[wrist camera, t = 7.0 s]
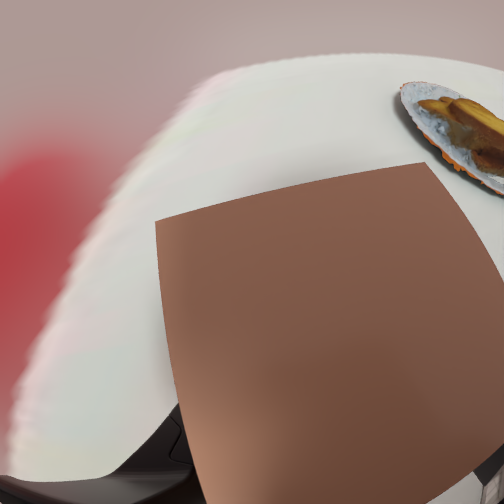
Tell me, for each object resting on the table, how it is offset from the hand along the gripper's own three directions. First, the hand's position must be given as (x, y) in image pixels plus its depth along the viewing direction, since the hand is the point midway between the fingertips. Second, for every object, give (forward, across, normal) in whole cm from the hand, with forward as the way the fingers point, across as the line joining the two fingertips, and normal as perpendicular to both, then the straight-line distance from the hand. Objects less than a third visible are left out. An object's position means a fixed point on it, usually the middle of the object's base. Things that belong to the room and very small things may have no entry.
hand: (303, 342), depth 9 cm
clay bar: (+4, 0, +6) cm, 7 cm away
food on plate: (+20, -35, -6) cm, 41 cm away
